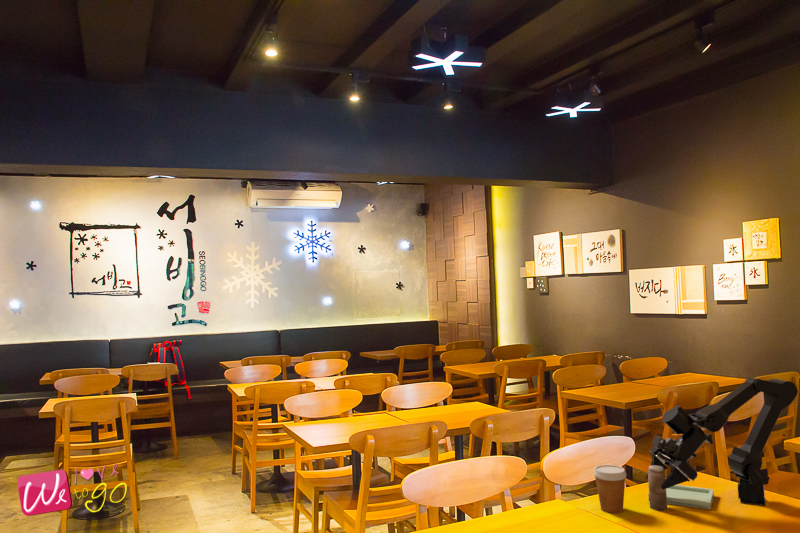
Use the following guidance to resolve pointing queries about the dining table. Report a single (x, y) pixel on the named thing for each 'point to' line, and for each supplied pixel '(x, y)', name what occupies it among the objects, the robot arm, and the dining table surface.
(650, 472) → the pepper mill
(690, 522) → the dining table surface
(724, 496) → the dining table surface
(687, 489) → the tray
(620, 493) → the disposable coffee cup
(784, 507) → the dining table surface
